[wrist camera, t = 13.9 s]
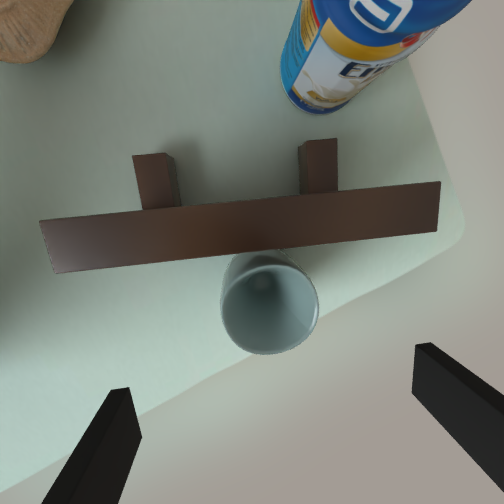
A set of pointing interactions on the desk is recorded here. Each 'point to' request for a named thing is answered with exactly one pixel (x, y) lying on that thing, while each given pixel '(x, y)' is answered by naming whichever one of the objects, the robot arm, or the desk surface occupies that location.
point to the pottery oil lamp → (29, 28)
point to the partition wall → (239, 217)
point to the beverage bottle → (353, 45)
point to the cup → (267, 302)
